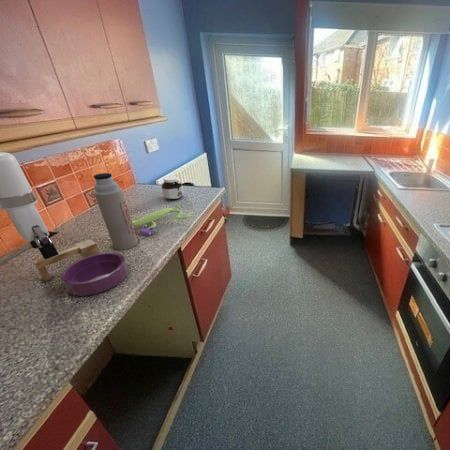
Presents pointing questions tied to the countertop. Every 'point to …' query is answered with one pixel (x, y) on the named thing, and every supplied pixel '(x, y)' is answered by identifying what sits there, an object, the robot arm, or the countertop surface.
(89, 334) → the countertop surface
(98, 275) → the bowl
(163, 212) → the figurine
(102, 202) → the thermos bottle
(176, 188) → the spread jar
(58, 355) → the countertop surface
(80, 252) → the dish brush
